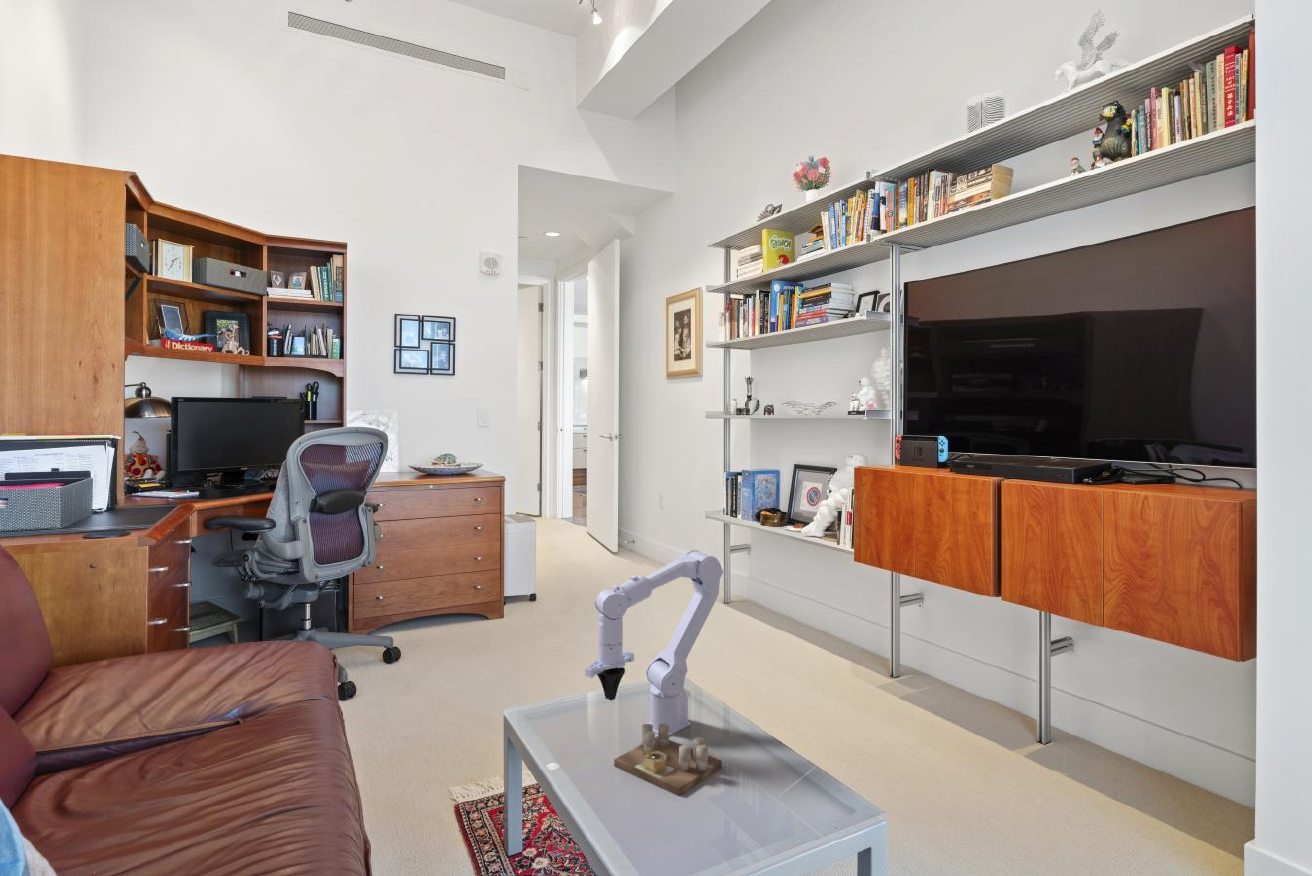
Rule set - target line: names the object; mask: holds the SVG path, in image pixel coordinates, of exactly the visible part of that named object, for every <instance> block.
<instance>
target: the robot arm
mask: <svg viewBox="0 0 1312 876" xmlns="http://www.w3.org/2000/svg"><path fill="white" fill-rule="evenodd" d="M723 574H724V571H723V568H722V565H721V562H720V561H719V559H718V558H716V557H715V556H712V555H708V554H706V553H704V552H701V551H699V550H697V549H692V550H689V551H687V552H686V553H682V554H680V555H679V556H678V557H677V558H676V559H674V560H673V561H671V562H670V563H668V564H666V565H664V566H662V567H661V568H659V569H657V570H656V571H654V572H652V573H651V574H648V575H647V576H643V575H642V574H641V575H635V574H634V575H632V576H630V579H629V580H627V581H625V582H624V583H622V584H619V585H617V584H616V585H614V586H613V589H608V588H607V589H604V590H602V591H601V592H599V594H598V595H597V596H596V598H595V601H594V607H595V608H596V610H597V611H598V630H597V631H598V636H597V637H598V648H597V649H598V650H597V651H598V653H597V654H598V656H597V658H598V659H596V660H595V661H594V662H593V663H592V664H590V665H588V666H586V667H585V670H584V671H585V675H584V676H585V677H587V678H590V679H592V678H594V677H595V675H596V676H597V677H598V679H599V681H600V684H601V686H602V689H603V694H604V697H605V699H606V700H609V701H614V700H616V696H617V693H618V689H619V685H620V682H621V681H622V678H623V677H624V675H625V673H626V668H625V667H626V664H627V663H629V662H630V663H632V662H634V661H635V653H634V652H630V651H627V652H626V651H625V652H623V650H624V649H623V647H624V646H623V641H624V640H623V637H624V636H623V631H624V630H623V629H624V627H623V626H624V625H623V624H624V622H623V616H624V615H625V614H626V612H627V610H628V609H630V608H631V607H634V606H635V605H637V604H639V603H641V602H643V601H645V600H646V599H648V598H651V595H652V593H653V591H654V590H656V589H657V588H659V587H660V588H661V587H662V586H664V585H666V584H669V583H671V582H673V581H675V580H677V579H680V578H689V579H690V580H691V583H692V585H693V588H694V594H693V597H692V598H691V600H690V602H689V604H688V607H687V608H686V610H685V612H684V613H683V616H682V618H681V620H680V622H679V623H678V626H677V627H676V629H675V632H674V633H673V635H672V637H671V639H670V641H669V643H668V645H667V647H666V648H665V649H664V650H661V651H660V652H658V653H657V655H656V657H655V658H654V659H653V660H652V661H651V662H650V663H648V666H647V668H646V671H645V675H646V678H647V680H648V682H649V683H650V691H649V692H650V694H649V697H650V699H649V700H650V702H649V713H650V714H649V722H647V723H646V724H651V725H653V732H654V733H655V734H658V726H659V725H660V724H668V725H669V737H670V736H672V735H674V734H676V733H677V732H679V731H681V730H682V729H685V728H686V727H688V726H690V725H691V722H690V721H689V698H688V694H687V692H686V691H685V689H684V686H685V678H686V675H687V674H688V665H687V658H688V657H689V655H690V652H691V651H692V649H693V647H694V644H695V643H696V640H697V639H698V637H699V635H700V633H701V631H702V629H703V627H704V624H705V623H706V621H707V619H708V617H709V616H710V613H711V611H712V609H713V608H714V605H715V603H716V601H717V599H718V597H719V594H720V583H721V582H720V581H721V578H722V576H723Z"/></svg>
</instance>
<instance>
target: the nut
mask: <svg viewBox="0 0 1312 876" xmlns="http://www.w3.org/2000/svg"><path fill="white" fill-rule="evenodd" d="M666 767H667V754H664V753H662V752H659V751H654V752H648V753H647V754H646V756H645V770H647V771H649V772H651V773H654V774H655V773H660V772H665V770H666Z"/></svg>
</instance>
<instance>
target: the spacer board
mask: <svg viewBox="0 0 1312 876" xmlns="http://www.w3.org/2000/svg"><path fill="white" fill-rule="evenodd" d="M641 732H642V733H641V735H642V736H641V744H640V745H638V746H637V747H635V748H633V749H631V750H628V751H627V752H626V753H624V754H621V755H619V756H618V757H615V759H613V761H614V762H613V764H614V765H613V766H614V767H615V768H617V769H620V770H621V771H624V772H626V773H628V774H630V775H632V776H635V777H638V778H639V779H642V780H643V781H646V782H648V783H650V784H652V785H654V786H656V787H659V788H661V789H662V790H665V791H667V792H670V793H672V794H674V795H676V796H680V795H682V794H683V793H685V792H687V791H689V789H691V788H693V787H694V786H696V785H697V784H699V783H701V782H703V780H705V779H706V778H708V777H710V776H711V775H712V774H714V773H715V772H718V770H720V769H722V768H723V765H722V764H723V763H722V761H723V760H722V759H719V758H716V757H714V756H712V755H709V754H708V751H709V749H708V746H707V745H705V738H704V737H702V736H696V737H694V738H693V743H692V744H693V748H691V746H690V745H686V744H681V743H678V742H676V741H674V740H671V739H670V736H669V725H668V724H660V725H659V726H658V735H657V736H656V735H655V734H656V733H655V732H653V725H651V724H647V723H644V724H642V726H641ZM654 751H659V752H662V753H664V754H667V767H666V770H665V772H660V773H655V774H654V773H651V772H649V771H647V770H645V756H646V754H647V753H648V752H654Z"/></svg>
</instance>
